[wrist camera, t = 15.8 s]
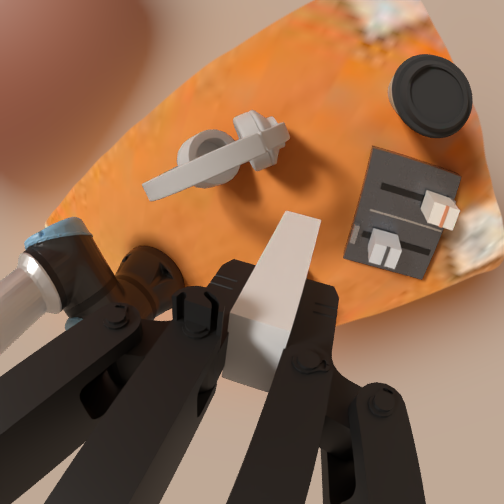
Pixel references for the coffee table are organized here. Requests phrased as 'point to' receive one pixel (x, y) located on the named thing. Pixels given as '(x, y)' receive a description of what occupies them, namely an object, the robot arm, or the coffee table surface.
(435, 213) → the block
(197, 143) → the headphones
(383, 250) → the block
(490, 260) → the coffee table surface
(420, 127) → the coffee cup
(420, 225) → the console
